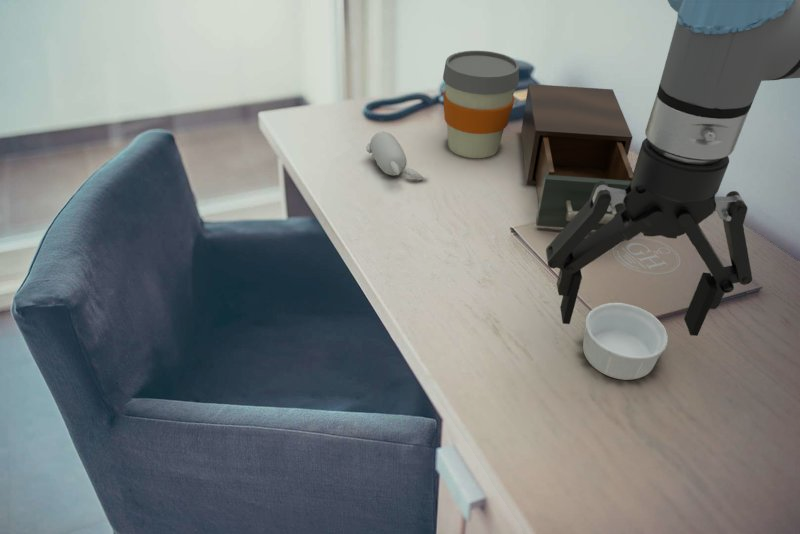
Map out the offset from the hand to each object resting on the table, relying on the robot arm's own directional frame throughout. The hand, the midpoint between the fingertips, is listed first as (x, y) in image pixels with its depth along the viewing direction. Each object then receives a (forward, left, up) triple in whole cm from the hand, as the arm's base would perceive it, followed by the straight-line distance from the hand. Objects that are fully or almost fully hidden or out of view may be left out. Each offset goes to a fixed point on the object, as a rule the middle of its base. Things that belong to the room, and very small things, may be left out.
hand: (627, 321), depth 70 cm
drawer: (+1, -31, -5) cm, 32 cm away
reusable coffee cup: (+17, -50, -6) cm, 53 cm away
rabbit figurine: (+30, -39, -6) cm, 49 cm away
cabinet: (+1, -47, -5) cm, 47 cm away
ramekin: (0, 0, -6) cm, 6 cm away
